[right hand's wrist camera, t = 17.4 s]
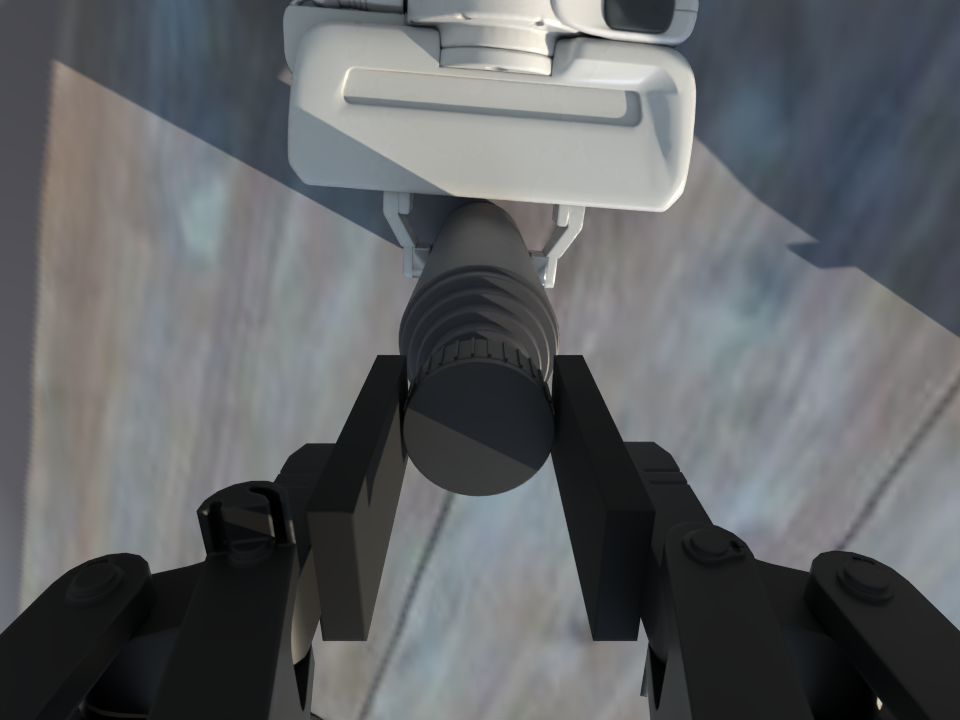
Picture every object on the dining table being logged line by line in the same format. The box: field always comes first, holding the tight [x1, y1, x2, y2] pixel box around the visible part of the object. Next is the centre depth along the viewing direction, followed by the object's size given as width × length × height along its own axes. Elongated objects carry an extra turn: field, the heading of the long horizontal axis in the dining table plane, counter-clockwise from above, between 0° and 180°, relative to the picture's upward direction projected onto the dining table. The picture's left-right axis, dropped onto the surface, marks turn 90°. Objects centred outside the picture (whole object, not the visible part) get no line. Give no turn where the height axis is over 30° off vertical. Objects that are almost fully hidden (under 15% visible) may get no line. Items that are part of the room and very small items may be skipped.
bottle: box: [399, 202, 560, 384], centre depth 25 cm, size 6×6×25 cm
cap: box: [402, 338, 555, 496], centre depth 14 cm, size 4×4×2 cm
